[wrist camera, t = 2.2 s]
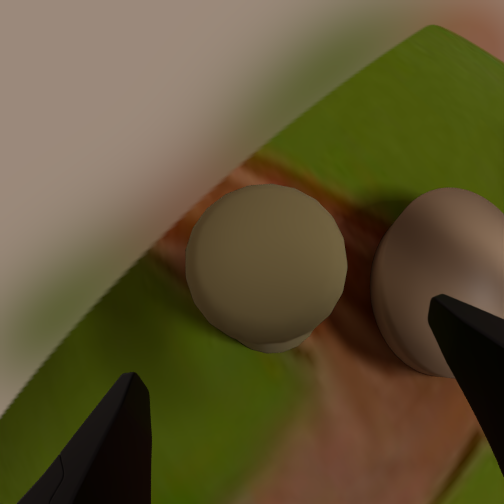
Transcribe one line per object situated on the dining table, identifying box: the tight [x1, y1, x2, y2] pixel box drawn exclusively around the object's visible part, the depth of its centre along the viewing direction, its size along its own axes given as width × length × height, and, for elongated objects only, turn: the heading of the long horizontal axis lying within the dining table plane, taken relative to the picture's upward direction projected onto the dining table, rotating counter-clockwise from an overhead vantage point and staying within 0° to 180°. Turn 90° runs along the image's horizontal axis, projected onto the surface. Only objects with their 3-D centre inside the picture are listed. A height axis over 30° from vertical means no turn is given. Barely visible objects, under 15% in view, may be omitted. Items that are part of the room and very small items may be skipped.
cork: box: [186, 184, 347, 353], centre depth 14 cm, size 6×6×11 cm
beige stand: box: [370, 188, 504, 378], centre depth 17 cm, size 12×12×3 cm
